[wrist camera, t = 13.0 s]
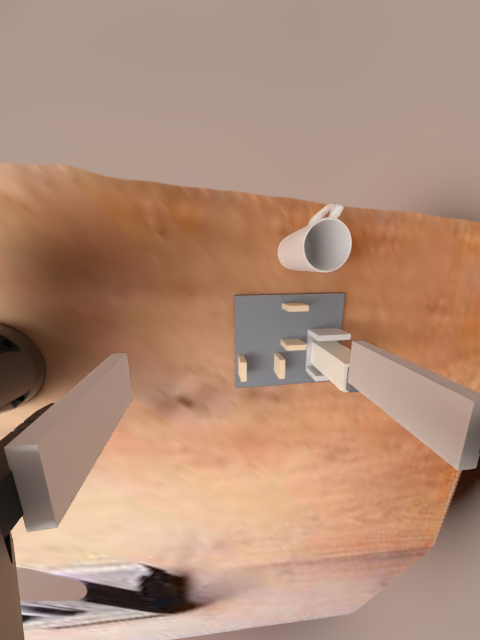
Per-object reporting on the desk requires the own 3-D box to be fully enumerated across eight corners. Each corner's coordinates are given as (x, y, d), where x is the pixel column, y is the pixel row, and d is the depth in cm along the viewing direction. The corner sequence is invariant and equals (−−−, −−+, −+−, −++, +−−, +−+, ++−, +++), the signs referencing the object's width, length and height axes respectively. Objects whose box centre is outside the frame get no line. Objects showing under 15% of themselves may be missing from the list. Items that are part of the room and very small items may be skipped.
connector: (310, 362, 45) (346, 395, 33) (312, 341, 44) (349, 367, 32) (332, 361, 45) (374, 393, 34) (334, 340, 44) (378, 365, 33)
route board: (235, 386, 45) (239, 401, 40) (234, 295, 41) (238, 299, 36) (334, 378, 48) (349, 391, 43) (342, 293, 44) (360, 296, 39)
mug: (302, 277, 42) (337, 280, 30) (269, 263, 41) (294, 260, 29) (325, 224, 41) (372, 206, 29) (292, 207, 39) (328, 181, 28)
